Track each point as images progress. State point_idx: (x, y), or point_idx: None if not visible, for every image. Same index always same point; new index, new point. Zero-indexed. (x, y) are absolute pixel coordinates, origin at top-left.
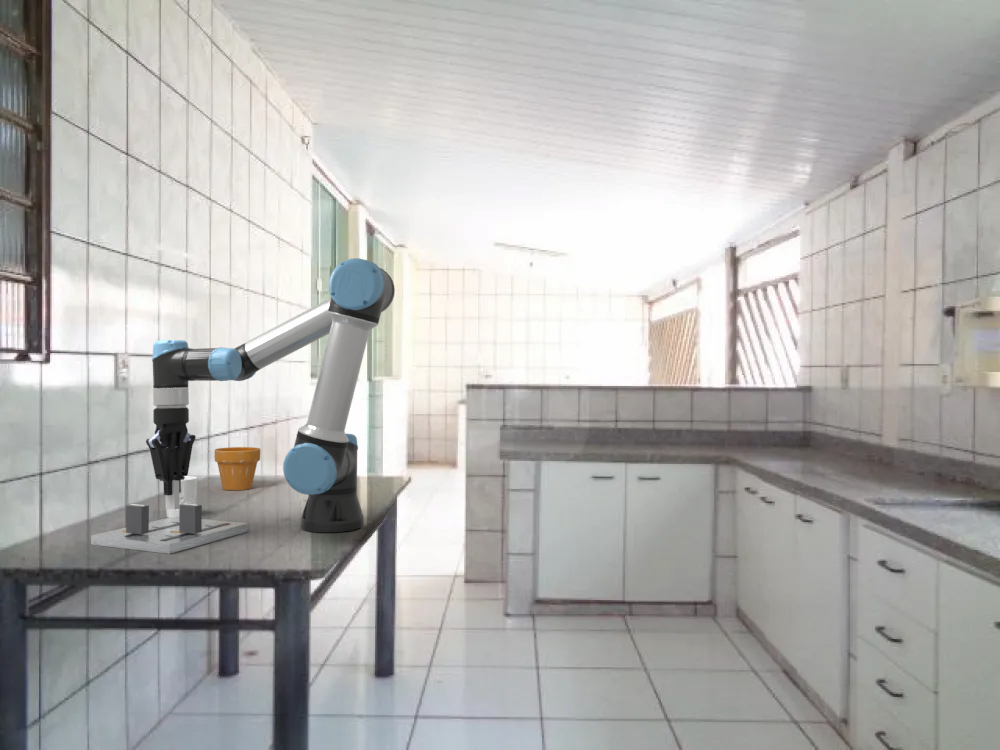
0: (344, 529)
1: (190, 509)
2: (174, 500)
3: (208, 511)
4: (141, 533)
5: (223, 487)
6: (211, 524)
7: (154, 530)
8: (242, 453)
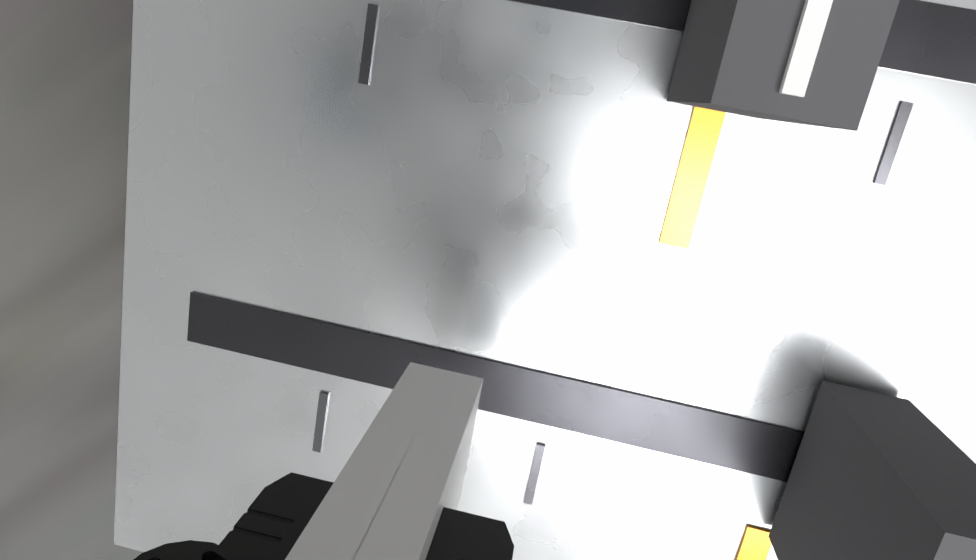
0: None
1: None
2: (462, 432)
3: None
4: (909, 403)
5: None
6: (300, 59)
7: (676, 402)
8: None
